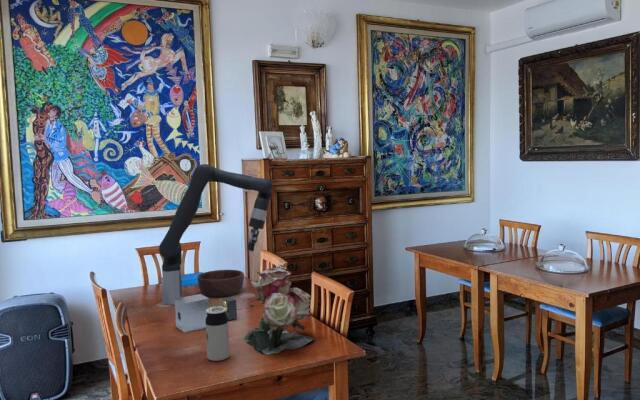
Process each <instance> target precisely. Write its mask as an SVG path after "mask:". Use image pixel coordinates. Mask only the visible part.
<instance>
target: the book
mask: <svg viewBox="0 0 640 400" xmlns="http://www.w3.org/2000/svg"><path fill="white" fill-rule="evenodd" d="M202 273H204V272H203V271H200V272H192V273H186V274H181V279H182V288H184V287H190V286H197V285H198V286H199V284H198V279H197V277H198V275H200V274H202ZM161 284H162V285H163V276H162V277H161Z"/></svg>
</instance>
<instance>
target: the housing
mask: <svg viewBox="0 0 640 400" xmlns="http://www.w3.org/2000/svg"><path fill="white" fill-rule="evenodd" d="M210 304H211V303H210V297H207V296H205V295H203V294H202V293H200V294H199V293H198V294H193V295H189V296H188V295H187V296H182V298H176V299H175V305H174V312H175V327H176V328H177V329H179V330H180V331H181V332H183V333H184V334H185V333H189V332H194V331H198V330H202V329H206V320H205V319H206V317H207V313H206V310H207V309H208V308H210V307H211V306H210Z"/></svg>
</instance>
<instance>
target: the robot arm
mask: <svg viewBox="0 0 640 400" xmlns="http://www.w3.org/2000/svg"><path fill="white" fill-rule="evenodd" d="M209 182H211V183H212V182H215V183H222V184H225V185H229V186H232V187H235V188H239V189H242V190H243V189H244V190H248V191H255V192H257V197H256V198H255V201H254V204H253V208H252V210H251V213H250V218H249V222H248V227H252V228H251V229H250V231H249V237H248V244H247V249H246V250H248V251H250V252H254V250H255V246H256V244H257V242H258V239H259V234H260V230H264V227H265V223H266V220H267V219H266V218H267V212H268V208H269V205H270V200H271V197H272V195H273V194H272V193H273V191H274V185H273V182H272V181H271V180H269V179H268V178H267V179H266V178H262V177H254V176H251V175H248V174H241V173H236V172H231V171H228V170H223V169H219V168H217V167H215V166H212V165H210V164H206V163H201V164H199V165H197V166H196V167H195V168H194V170H193V171H192V176H191V179H190V182H189V185H188V187H187V188H186V191H185V193H184V195H182V196H183V197H182V199H181V200H180V203H179V205H178V207H177V209H176V211H175V214H174V215H173V218H172V220H171V224H170V226H169V228H168V231H167V233H166V234H165V235H164V238H163V239H162V240H161V242H160V244H159V246H158V252H159V254H160V256H161V257H163V263H162V264H161V270H162V277H163V284H162V285H161V298H162V299H161V301H162V305H166V306H175V299H176V298H182V297H183V287H182V279H181V275H182V267H181V266H182V263H183V261H182V259H183V258H182V244H181V239H182V236H183V235H184V233H185V232H186V230H187V229H188V228H189V227H190V225H191V223H192V222H193V220H194V218H195V217H196V214H197V212H198V209H199V205H200V203H201V202H200V201H201V197H202V194H203V192H204V189H206V186H207V184H208V183H209Z"/></svg>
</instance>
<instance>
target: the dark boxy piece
mask: <svg viewBox="0 0 640 400" xmlns="http://www.w3.org/2000/svg"><path fill="white" fill-rule="evenodd" d="M212 307H225V308H226V309H227V310H226V315H227V317H228V321H231V320H234V319H238V311H237V299H235V298H234V297H232V296H228V297H223V298H222V300H221V302H220V304H218V305H214V306H210V308H212Z"/></svg>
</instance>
